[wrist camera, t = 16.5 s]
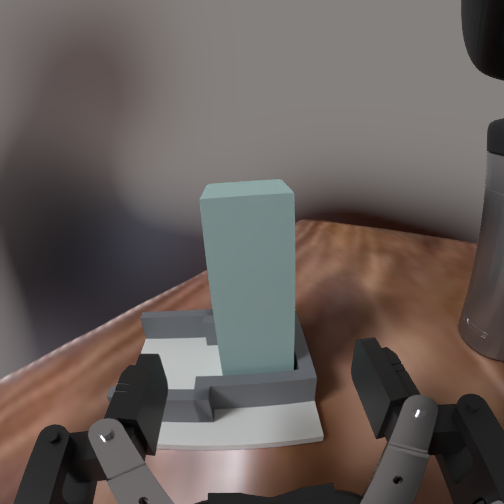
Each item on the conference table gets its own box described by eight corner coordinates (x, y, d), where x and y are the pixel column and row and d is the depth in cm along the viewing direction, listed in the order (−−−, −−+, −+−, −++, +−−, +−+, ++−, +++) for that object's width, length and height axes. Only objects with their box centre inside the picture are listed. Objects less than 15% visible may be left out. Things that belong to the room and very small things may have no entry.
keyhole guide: (290, 318, 31) (290, 292, 30) (322, 440, 17) (327, 414, 16) (154, 326, 31) (147, 301, 30) (114, 444, 17) (98, 418, 16)
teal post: (284, 345, 26) (281, 179, 21) (293, 386, 22) (294, 192, 16) (226, 350, 26) (207, 184, 21) (225, 391, 21) (199, 199, 16)
